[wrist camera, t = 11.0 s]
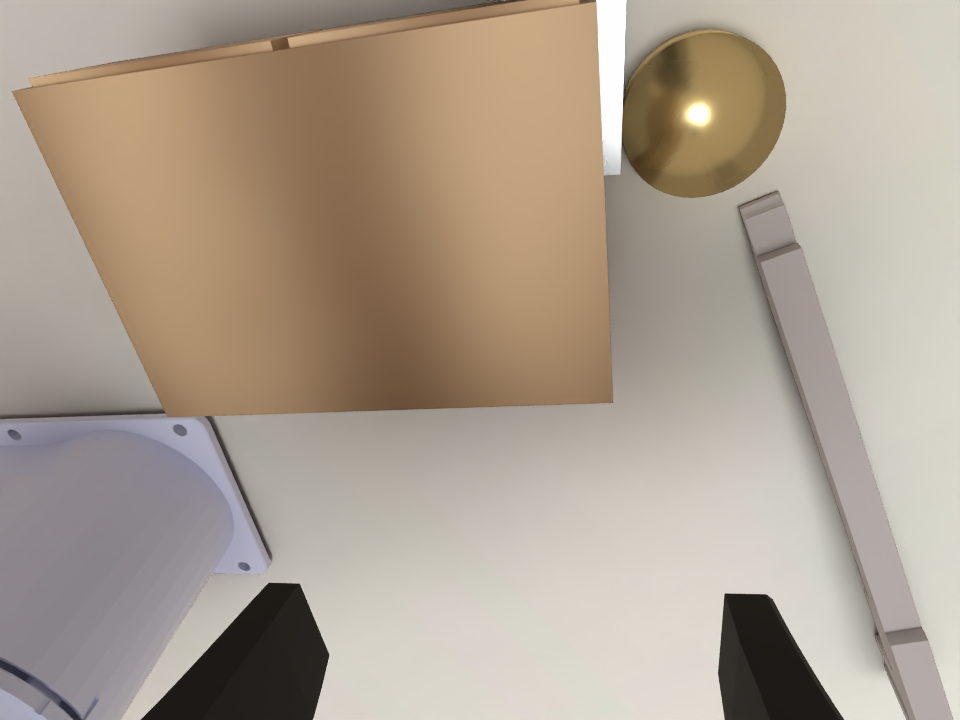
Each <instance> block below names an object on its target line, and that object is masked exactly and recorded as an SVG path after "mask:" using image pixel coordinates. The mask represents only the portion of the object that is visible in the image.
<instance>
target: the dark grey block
mask: <svg viewBox="0 0 960 720" xmlns="http://www.w3.org/2000/svg"><path fill="white" fill-rule="evenodd" d="M503 1H505V0H503ZM596 1H597V18H598V42H599V67H600V92H601V116H602V141H603V166H604V175H620V171H621V140H622V110H623V79H624V48H625V17H626V0H596Z"/></svg>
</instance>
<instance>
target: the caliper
mask: <svg viewBox="0 0 960 720" xmlns="http://www.w3.org/2000/svg"><path fill="white" fill-rule="evenodd" d="M739 211H740V214H741V217H742V220H743V223H744V226H745V229H746V232H747V235H748V238H749V241H750V243H751V246H752V249H753V255H754V258H755V261H756V264H757V268H758V271H759V274H760V277H761V280H762V283H763V286H764V290H765V293H766V296H767V299H768V302H769V305H770V308H771V311H772V314H773V317H774V320H775V323H776V326H777V329H778V331H779V334H780V337H781V340H782V343H783V346H784V349H785V352H786V355H787V358H788V361H789V364H790V367H791V370H792V373H793V376H794V379H795V382H796V385H797V388H798V390H799V393H800V396H801V399H802V402H803V405H804V408H805V411H806V414H807V417H808V420H809V423H810V426H811V429H812V432H813V435H814V438H815V441H816V444H817V447H818V449H819V452H820V455H821V458H822V461H823V464H824V467H825V470H826V473H827V476H828V479H829V482H830V485H831V488H832V491H833V494H834V497H835V500H836V503H837V506H838V509H839V512H840V515H841V518H842V520H843V523H844V526H845V529H846V532H847V535H848V538H849V541H850V544H851V547H852V550H853V553H854V556H855V559H856V562H857V565H858V568H859V571H860V574H861V577H862V580H863V583H864V586H865V588H863V589H864V592H865V595H866V598H867V601H868V603H869V606H870V609H871V612H872V615H873V618H874V621H875V624H876V627H877V630H878V633H879V635H875V639H876V642H877V645H878V647H879V649H880V651H881V653H882V656H883V658H884V661H885V663H886V664H884V667H885V670H886V672H887V675H888V677H889V680H890V682H891V685H892V687H893V689H894V692H895V694H896V696H897V699H898V701H899V704H900V706H901V708H902V711H903V713H904V715H905V718H906V720H953V717H952V713H951V710H950V707H949V704H948V701H947V698H946V695H945V691H944V688H943V685H942V682H941V679H940V676H939V673H938V669H937V666H936V663H935V660H934V657H933V654H932V651H931V647H930V644H929V641H928V639H927V637H926V635H925V633H924V631H923V629H922V627H921V624H920V621H919V617H918V614H917V611H916V608H915V605H914V602H913V598H912V595H911V592H910V589H909V586H908V583H907V579H906V576H905V573H904V570H903V567H902V564H901V560H900V557H899V554H898V551H897V548H896V545H895V541H894V538H893V535H892V532H891V529H890V526H889V522H888V519H887V516H886V513H885V510H884V507H883V503H882V500H881V497H880V494H879V491H878V488H877V484H876V481H875V478H874V475H873V472H872V469H871V465H870V462H869V459H868V456H867V453H866V450H865V446H864V443H863V440H862V437H861V434H860V431H859V427H858V424H857V421H856V418H855V415H854V412H853V408H852V405H851V402H850V399H849V396H848V393H847V390H846V386H845V383H844V380H843V377H842V374H841V371H840V367H839V364H838V361H837V358H836V355H835V352H834V349H833V345H832V342H831V339H830V336H829V333H828V330H827V326H826V323H825V320H824V317H823V314H822V311H821V307H820V304H819V301H818V298H817V295H816V292H815V289H814V285H813V282H812V279H811V276H810V273H809V270H808V266H807V263H806V260H805V257H804V254H803V251H802V248H801V246H800V245H799V244H798V243H797V242H796V239H795V236H794V233H793V230H792V227H791V223H790V220H789V217H788V214H787V211H786V208H785V205H784V203H783V201H782V198H781V195H780V193H779V192H778V191H777V192H775V193H772V194H770V195H767V196H765V197H762V198H760V199H757V200H755V201H752V202H750V203H747V204H745V205H742V206H740V207H739Z"/></svg>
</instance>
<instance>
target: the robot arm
mask: <svg viewBox="0 0 960 720" xmlns="http://www.w3.org/2000/svg"><path fill="white" fill-rule="evenodd" d="M181 425H182V426H183V427H185V428H186V429H185V428H183V427H181ZM270 564H271V562H270V559H269V556H268V554H267V552H266V550H265V547H264V545H263V543H262V541H261V538H260V536H259V534H258V531H257V529H256V527H255V525H254V522H253V520H252V518H251V515H250V513H249V511H248V509H247V506H246V504H245V502H244V499H243V497H242V495H241V493H240V490H239V488H238V486H237V483H236V481H235V479H234V477H233V474H232V472H231V470H230V468H229V465H228V463H227V461H226V458H225V456H224V454H223V452H222V449H221V447H220V445H219V442H218V440H217V438H216V436H215V433H214V431H213V429H212V426H211V424H210V422H209V421H208V419H207V418H205V417H204V416H194V417H167V415H166V414H137V415H108V416H78V417H49V418H20V419H0V720H121V719H122V717H123V715H124V714H125V712H126V711H127V709H128V707H129V706H130V704H131V703H132V701H133V699H134V698H135V696H136V695H137V693H138V691H139V690H140V688H141V687H142V685H143V683H144V682H145V680H146V679H147V677H148V675H149V674H150V672H151V670H152V669H153V667H154V666H155V664H156V662H157V661H158V659H159V658H160V656H161V654H162V653H163V651H164V650H165V648H166V646H167V645H168V643H169V642H170V640H171V638H172V637H173V635H174V633H175V632H176V630H177V629H178V627H179V625H180V624H181V622H182V621H183V619H184V617H185V616H186V614H187V613H188V611H189V609H190V608H191V606H192V605H193V603H194V601H195V600H196V598H197V597H198V595H199V593H200V592H201V590H202V588H203V587H204V585H205V584H206V582H207V580H208V579H209V577H210V576H211V574H212V573H220V574H264V573H265V572H267V570H268V568H269V566H270ZM328 659H329V653H328V651H327V648H326V646H325V643H324V641H323V639H322V636H321V634H320V631H319V629H318V627H317V624H316V622H315V619H314V617H313V615H312V612H311V610H310V607H309V605H308V603H307V600H306V598H305V595H304V593H303V590H302V588H301V586H300V584H292V583H268V584H267V585H266V586H265V587H264V588H263V590H262V591H261V592H260V593H259V594H258V595H257V596H256V597H255V598H254V599H253V600H252V601H251V602H250V603H249V605H248V606H247V607H246V608H245V609H244V610H243V611H242V612H241V613H240V614H239V616H238V617H237V618H236V619H235V620H234V621H233V622H232V623H231V624H230V625H229V627H228V628H227V629H226V630H225V631H224V632H223V633H222V634H221V635H220V636H219V638H218V639H217V640H216V641H215V642H214V643H213V644H212V645H211V646H210V647H209V649H208V650H207V651H206V652H205V653H204V654H203V655H202V656H201V657H200V658H199V659H198V660H197V662H196V663H195V664H194V665H193V666H192V667H191V668H190V669H189V670H188V671H187V672H186V673H185V674H184V675H183V676H182V678H181V679H180V680H179V681H178V682H177V683H176V684H175V685H174V686H173V687H172V688H171V689H170V690H169V691H168V692H167V693H166V695H165V696H164V697H163V698H162V699H161V700H160V701H159V702H158V703H157V704H156V705H155V706H154V707H153V708H152V709H151V710H150V711H149V712H148V713H147V714H146V715H145V716H144V717H143V718H142V719H141V720H313V717H314V714H315V711H316V707H317V703H318V699H319V696H320V692H321V688H322V684H323V680H324V676H325V671H326V667H327V663H328ZM718 676H719V682H720V689H721V696H722V703H723V710H724V717H725V720H844V719H843V717H842V716H841V714H840V713H839V711H838V710H837V708H836V707H835V705H834V704H833V702H832V701H831V699H830V697H829V696H828V694H827V693H826V691H825V690H824V688H823V686H822V685H821V683H820V682H819V680H818V678H817V677H816V675H815V673H814V672H813V670H812V669H811V667H810V665H809V664H808V662H807V660H806V659H805V657H804V655H803V654H802V652H801V650H800V649H799V647H798V645H797V643H796V642H795V640H794V638H793V636H792V635H791V633H790V631H789V629H788V627H787V626H786V624H785V622H784V620H783V618H782V616H781V614H780V613H779V611H778V609H777V607H776V605H775V603H774V601H773V599H771V598H770V597H769V596H768V595H765V594H725V596H724V608H723V620H722V633H721V645H720V657H719V669H718Z"/></svg>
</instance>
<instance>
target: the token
mask: <svg viewBox="0 0 960 720" xmlns="http://www.w3.org/2000/svg"><path fill="white" fill-rule="evenodd" d="M785 111H786V94H785V88H784V83H783V80H782V77H781V74H780V72H779V70H778V68H777V66H776V64H775V63H774V61H773V60H772V59H771V57H770V56H769V55H768V54H767V53H766V52H765V51H764V50H763V49H762V48H761V47H759V46H758V45H756V44H755V43H754V42H752V41H750V40H748V39H746V38H744V37H741V36H739V35H736V34H733V33H730V32H727V31H722V30H716V29H703V30H695V31H691V32H687V33H683V34H681V35H678V36H676V37H673V38H671V39H670V40H668V41H666V42H664V43H663V44H661V45H660V46H659V47H657V48H656V49H654V50H653V51H652V52H651V53H650V54H649V55H648V56H647V57H646V58H645V59H644V60H643V61H642V62H641V64H640V65H639V66H638V67H637V69H636V70H635V72H634V73H633V75H632V77H631V79H630V81H629V83H628V84H627V87H626V90H625V92H624V95H623V110H622V140H623V144H624V148H625V151H626V154H627V157H628V159H629V161H630V163H631V165H632V166H633V168H634V169H635V171H636V172H637V173H638V174H639V175H640V177H641V178H642V179H644V180H645V181H646V182H647V183H648V184H650V185H651V186H653V187H654V188H656V189H658V190H660V191H662V192H664V193H667V194H670V195H673V196H679V197H689V198H695V197H705V196H710V195H714V194H717V193H720V192H723V191H726V190H728V189H730V188H732V187H734V186H736V185H737V184H739V183H741V182H742V181H744V180H745V179H746V178H748V177H749V176H750V175H751V174H753V173H754V172H755V171H756V170H757V169H758V168H759V167H760V166H761V164H762V163H763V162H764V161H765V160H766V159H767V157H768V156H769V154H770V153H771V151H772V150H773V148H774V146H775V144H776V142H777V140H778V138H779V135H780V133H781V130H782V127H783V123H784V118H785Z"/></svg>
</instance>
